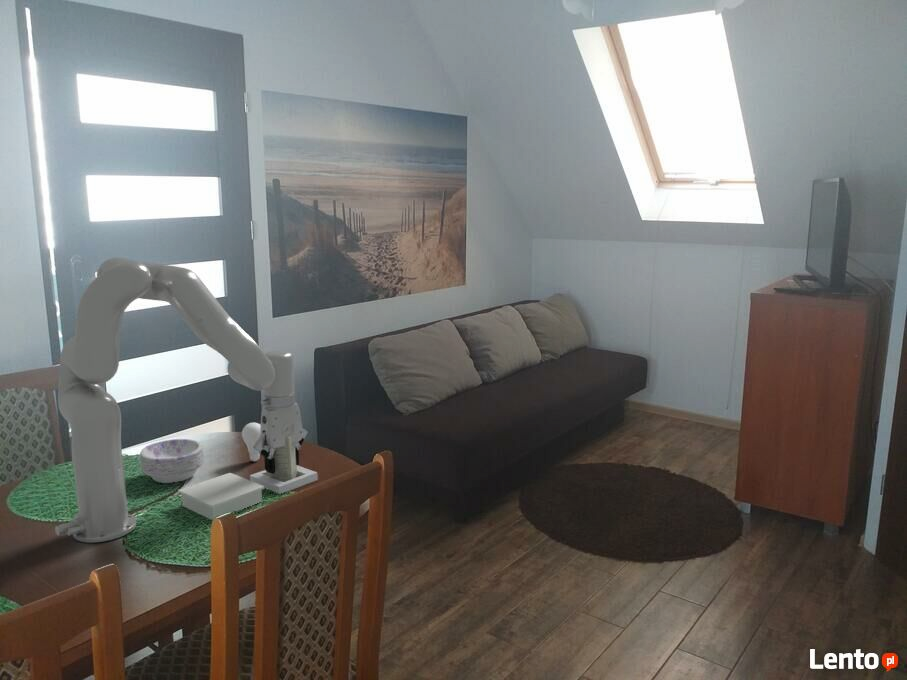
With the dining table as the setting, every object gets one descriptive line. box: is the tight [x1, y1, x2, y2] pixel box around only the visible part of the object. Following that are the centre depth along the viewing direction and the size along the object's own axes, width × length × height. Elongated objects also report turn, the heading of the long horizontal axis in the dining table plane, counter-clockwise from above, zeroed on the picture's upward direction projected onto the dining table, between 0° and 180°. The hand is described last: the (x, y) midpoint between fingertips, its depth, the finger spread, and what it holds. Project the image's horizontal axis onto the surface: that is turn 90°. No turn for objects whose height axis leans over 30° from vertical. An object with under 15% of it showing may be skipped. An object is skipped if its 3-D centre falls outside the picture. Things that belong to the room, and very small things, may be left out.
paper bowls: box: [139, 438, 205, 484], centre depth 187 cm, size 15×15×8 cm
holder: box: [249, 465, 319, 495], centre depth 184 cm, size 12×12×2 cm
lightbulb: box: [241, 422, 261, 462], centre depth 197 cm, size 6×6×11 cm
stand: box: [177, 472, 265, 521], centre depth 170 cm, size 14×14×4 cm
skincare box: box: [266, 436, 297, 482], centre depth 183 cm, size 6×4×12 cm
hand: (282, 467), depth 183 cm, fingers closed on skincare box, 6 cm apart
